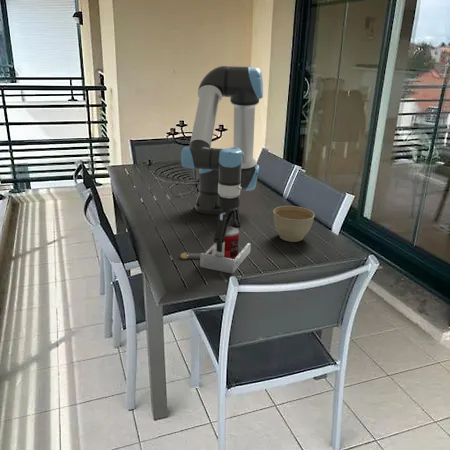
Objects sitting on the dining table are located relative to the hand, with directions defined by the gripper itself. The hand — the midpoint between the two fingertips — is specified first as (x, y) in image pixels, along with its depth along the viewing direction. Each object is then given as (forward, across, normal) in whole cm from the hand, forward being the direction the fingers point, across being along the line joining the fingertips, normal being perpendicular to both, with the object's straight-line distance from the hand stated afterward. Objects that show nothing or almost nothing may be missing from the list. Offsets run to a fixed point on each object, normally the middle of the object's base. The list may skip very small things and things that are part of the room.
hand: (226, 251), depth 161 cm
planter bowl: (+3, +29, -17) cm, 34 cm away
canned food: (+3, 0, 0) cm, 3 cm away
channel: (+3, 0, 0) cm, 3 cm away
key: (+3, -4, +11) cm, 12 cm away
